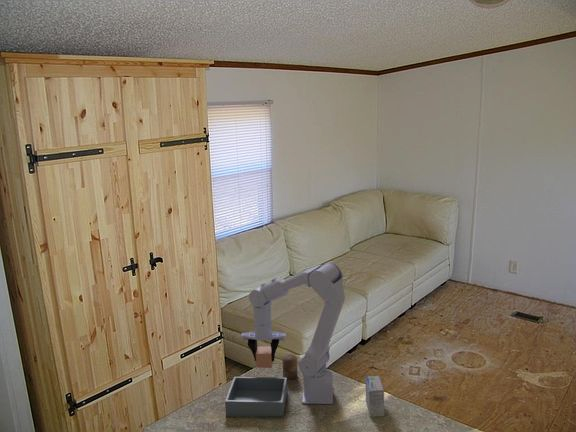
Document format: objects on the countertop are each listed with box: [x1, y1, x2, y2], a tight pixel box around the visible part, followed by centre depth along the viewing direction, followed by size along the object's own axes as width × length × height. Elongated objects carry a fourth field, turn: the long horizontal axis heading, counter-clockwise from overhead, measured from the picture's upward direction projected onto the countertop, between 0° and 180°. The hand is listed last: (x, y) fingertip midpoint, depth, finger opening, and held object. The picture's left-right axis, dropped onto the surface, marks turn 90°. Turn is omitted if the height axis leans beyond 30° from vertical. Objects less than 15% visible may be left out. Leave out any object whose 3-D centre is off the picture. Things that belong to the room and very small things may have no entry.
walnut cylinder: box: [281, 353, 298, 382], centre depth 156 cm, size 5×5×7 cm
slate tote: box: [224, 376, 288, 419], centre depth 142 cm, size 17×13×5 cm
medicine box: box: [365, 375, 385, 418], centre depth 137 cm, size 8×4×9 cm, turn 179°
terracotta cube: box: [255, 345, 274, 369], centre depth 153 cm, size 5×5×5 cm
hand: (264, 359), depth 153 cm, fingers closed on terracotta cube, 5 cm apart
